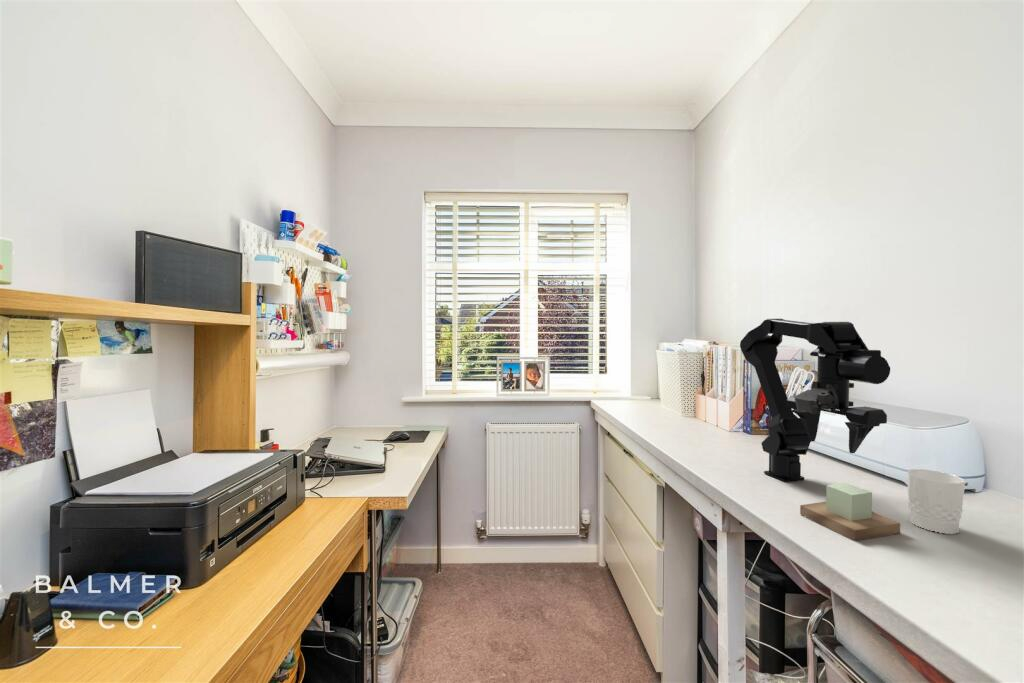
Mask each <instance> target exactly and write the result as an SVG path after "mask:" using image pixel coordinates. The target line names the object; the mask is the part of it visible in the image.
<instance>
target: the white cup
mask: <svg viewBox="0 0 1024 683" xmlns="http://www.w3.org/2000/svg"><path fill="white" fill-rule="evenodd" d="M906 475H907V476H906V477H907V497H908V508H909V521H910V522H911V523H912V524H913V525H914V524H915V525H914V526H917V527H918V526H919V527H918V528H920V527H921V528H920V529H922V528H924V529H923V530H926V529H927V530H926V531H929V530H930V531H929V532H932V531H935V532H934V533H937V532H939V533H938V534H942V533H945V534H944V535H956V533H957V534H959V529H960V522H961V519H962V514H963V505H964V498H965V497H964V496H965V486H966V481H965V479H963V478H962V477H959V476H957V475H955V474H950V473H946V472H942V471H938V470H932V469H926V468H925V469H923V468H912V469H908V470H907V474H906Z"/></svg>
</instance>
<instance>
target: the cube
mask: <svg viewBox="0 0 1024 683" xmlns="http://www.w3.org/2000/svg"><path fill="white" fill-rule="evenodd" d="M825 492H826V495H825V496H826V498H825V499H826V500H825V502H826V510H828V511H830V512H832V513H834V514H837V515H839V516H841V517H843V518H846V519H848V520H850V521H854V520H861V519H868V518H871V514H872V512H873V511H872V510H873V509H872V507H873V492H872V491H869V490H867V489H863V488H860V487H857V486H855V485H852V484H850V483H847V482H843V483H836V484H829V485H828V484H827V485H826V490H825Z"/></svg>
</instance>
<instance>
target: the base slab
mask: <svg viewBox="0 0 1024 683" xmlns="http://www.w3.org/2000/svg"><path fill="white" fill-rule="evenodd" d="M799 506H800V507H799V508H800V509H799V510H800V511H799V514H801V515H800V516H802V515H804V516H806V517H807V518H806V517H805V518H806V519H808V518H809V520H810V519H812V520H813V522H814V521H815V522H814V523H816V522H817V524H818V525H821V526H823V527H825V526H826V527H825V528H827V529H829V530H831V529H832V530H831V531H833V530H834V531H833V532H835V531H836V532H835V533H837V532H838V533H837V534H839V533H840V534H839V535H841V534H842V536H843V535H844V537H846V538H848V539H850V540H851V541H854V542H856V541H863V540H869V539H874V538H875V539H876V538H880V537H881V536H882V537H887V536H886V535H888V536H892V535H891V534H894V535H898V534H897V533H900V534H901V522H900V521H899V522H898V521H897V520H894V519H891V518H889V517H886V516H884V515H881V514H878V513H876V512H873V511H872V514H871V518H868V519H861V520H854V521H850V520H848V519H846V518H843V517H841V516H839V515H837V514H834V513H832V512H830V511H828V510H826V501H822V502H813V503H808V504H807V503H806V504H800V505H799ZM804 516H803V517H804ZM812 520H811V521H812ZM882 537H881V538H882Z"/></svg>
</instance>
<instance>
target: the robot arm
mask: <svg viewBox="0 0 1024 683" xmlns="http://www.w3.org/2000/svg"><path fill="white" fill-rule="evenodd" d="M783 336H785V337H791V338H792V337H793V338H798V339H803V340H806V341H807V342H808V343H809V344H812V345H814V346H817V347H816V348H815V349H813V350H812V351H811V352H810V353H809V355H810V356H811V357H817V377H816V378H817V379H816V380H815V381H812V382H811V387H810V389H807V390H804V391H803V392H801V393H798V394H796V395H790V396H789V397H788V395H787V392H786V390H785V387H784V385H783V384H784V383H783V381H782V378H781V376H780V373H779V371H778V368H777V365H776V360H777V357H778V354H779V353H778V347H779V345H780V344H781V343H782V342H783ZM739 347H740V350H741V352H742V355H743V357H744V359H745V360H746V361H747V363H749V364H750V365H751V366H752V367H753V368H754V369H755V372H756V375H757V379H758V381H759V385H760V387H761V391H762V394H763V396H764V399H765V402H766V406H767V408H768V411H769V414H770V417H771V418H770V420H769V424H768V426H767V429H768V430H767V431H768V434H769V435H768V436H767V437H766V438H764V440H763V441H761V447H762V451H763V452H765V453H767V454H768V470H764V471H763V473H764V474H765V475H767V476H771V477H772V478H775V479H778V480H779V481H783V482H792V481H800V480H802V481H803V480H805V477H804V476H802V474H801V473H802V472H801V470H802V468H801V467H802V466H801V465H802V463H801V462H800V458H801V457H800V455H803V456H806V455H807V453H808V450H809V447H810V444H811V442H815V441H816V438H817V435H818V434H817V433H818V428H819V423H820V419H821V418H820V417H821V413H822V412H827V413H832V414H834V415H835V414H837V415H841V416H845V418H846V419H847V420H848V421H846V422H844V424H845V426H846V427H847V429H848V451H849V453H850V454H855V453H856V452H857V450H858V449H859V447H860V446H861V445H862V443H863V441H864V440H865V438H866V437H867V436H868V434H870V432H871V431H872V430H873V429H874V428H875V427H880V425H882V424H887V423H888V422H887V421H888V415H887V413H886V412H885V411H884V409H883V408H882V409H881V408H876V407H870V406H854V401H851V400H850V389H852V388H853V389H854V388H855V383H853V382H859V383H864V384H865V383H866V384H873V385H880V384H883V383H884V382H885V381H887V380H888V378H889V376H890V374H891V366H890V364H889V362H888V361H887V359H886V358H885V357H883V356H882V351H881V349H869V348H868V347H867V345H866V343H865V342H864V340H863V339H862V337H861V336H860V334H859V333H858V331H857V329H856V328H855V326H854V323H853V322H850V321H818V322H807V321H799V320H798V321H797V320H788V319H784V318H767V319H764V320H763V321H762V322H761V323H760V324H759V325H758V326H756V327H755V328H753V329H751V330H750V331H747V333H746V334H745V335H744V337H743V338H742V339H741V341H740V343H739ZM850 381H853V382H850ZM795 414H796V415H795Z"/></svg>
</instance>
